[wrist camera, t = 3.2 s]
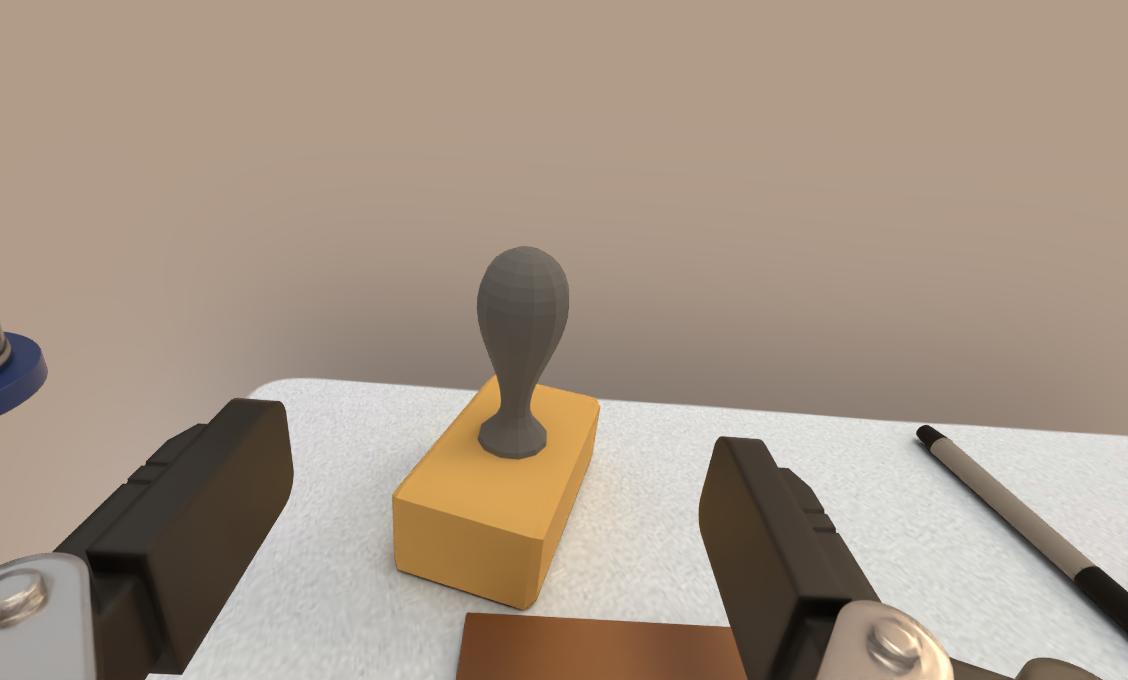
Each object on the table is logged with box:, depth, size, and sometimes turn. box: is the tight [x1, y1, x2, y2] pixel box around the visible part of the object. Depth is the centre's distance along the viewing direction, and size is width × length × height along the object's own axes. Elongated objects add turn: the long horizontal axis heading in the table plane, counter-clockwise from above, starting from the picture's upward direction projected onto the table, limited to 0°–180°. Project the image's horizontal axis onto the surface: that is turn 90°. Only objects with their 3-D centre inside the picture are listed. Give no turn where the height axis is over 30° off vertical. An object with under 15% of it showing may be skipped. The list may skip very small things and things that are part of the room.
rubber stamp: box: [392, 246, 600, 610], centre depth 23 cm, size 10×6×12 cm, turn 164°
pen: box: [916, 425, 1128, 631], centre depth 27 cm, size 1×16×1 cm, turn 6°
